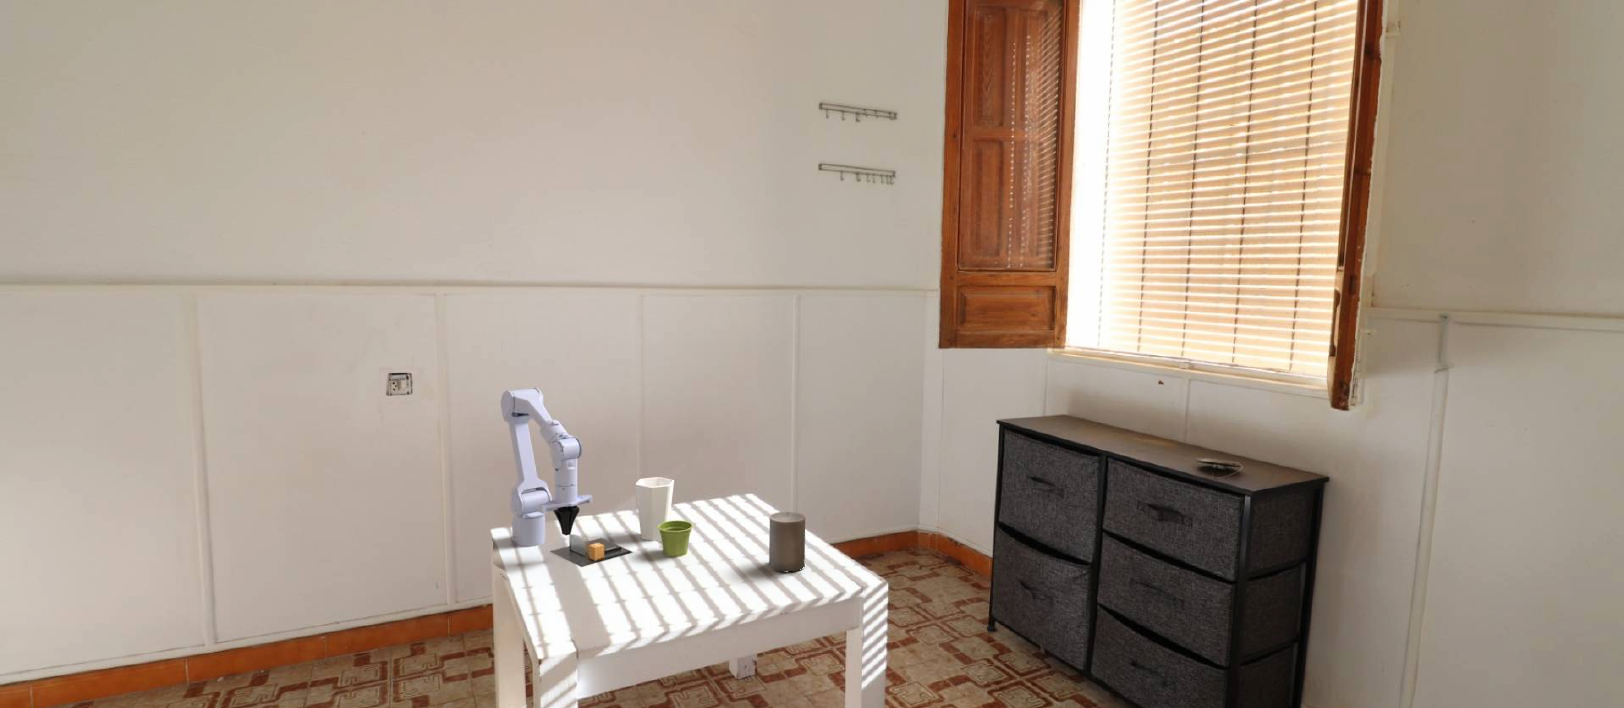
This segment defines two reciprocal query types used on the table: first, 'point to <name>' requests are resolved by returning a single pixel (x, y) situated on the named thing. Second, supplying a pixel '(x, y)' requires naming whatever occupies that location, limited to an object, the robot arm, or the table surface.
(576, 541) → the gate
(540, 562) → the table surface
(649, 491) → the cup
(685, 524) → the plant pot
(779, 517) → the pillar candle
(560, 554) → the console
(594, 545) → the fader
